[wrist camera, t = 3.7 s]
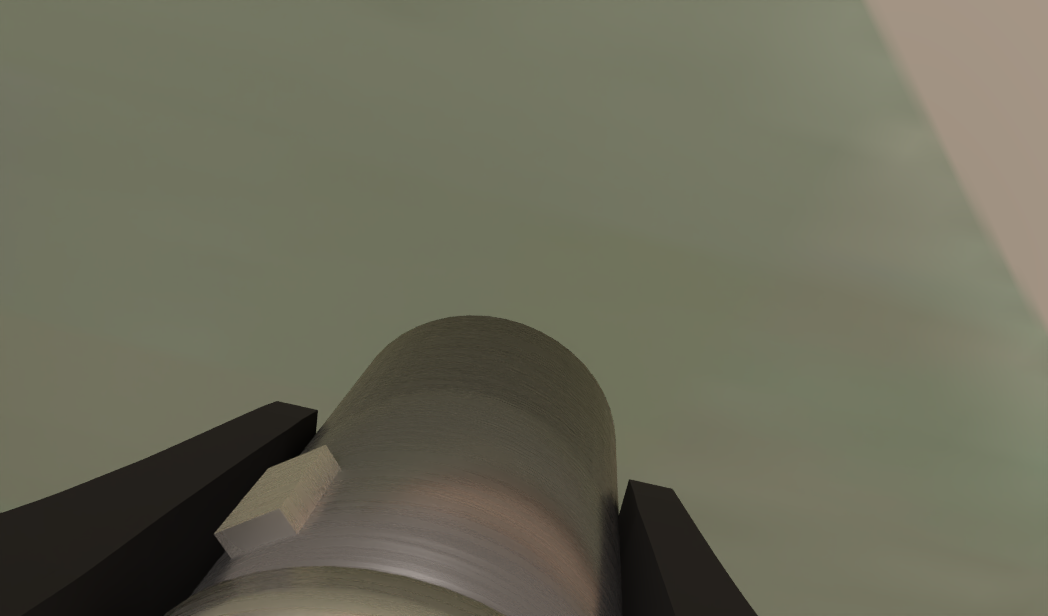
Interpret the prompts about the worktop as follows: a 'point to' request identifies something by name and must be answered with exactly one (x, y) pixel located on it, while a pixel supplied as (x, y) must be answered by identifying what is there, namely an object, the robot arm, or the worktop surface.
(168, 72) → the worktop surface
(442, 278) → the worktop surface
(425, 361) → the lens
